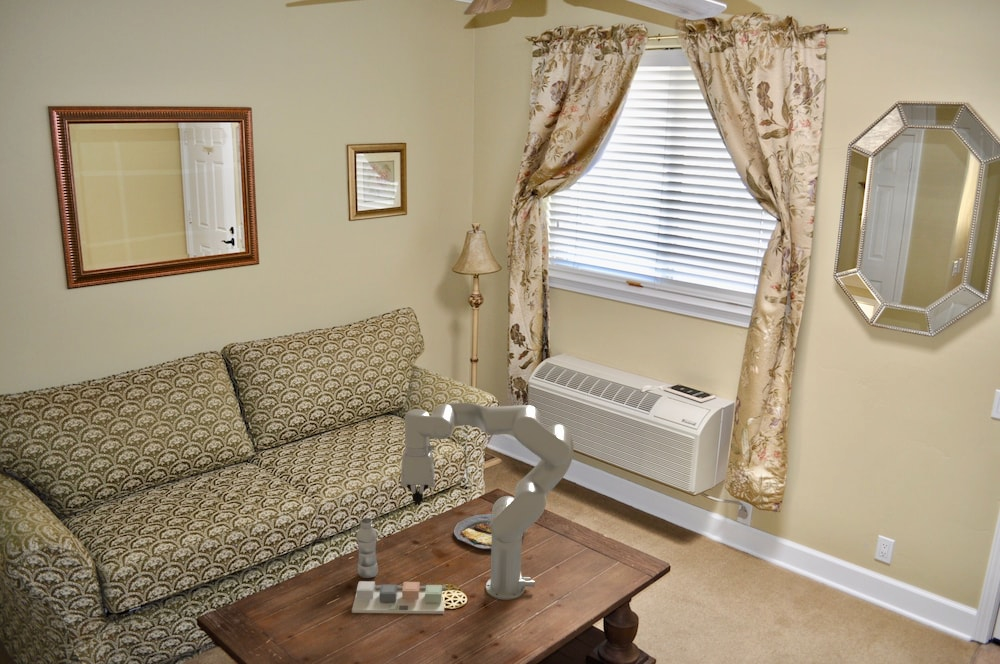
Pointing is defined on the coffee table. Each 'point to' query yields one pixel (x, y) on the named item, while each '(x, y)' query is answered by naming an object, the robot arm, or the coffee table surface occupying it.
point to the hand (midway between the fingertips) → (417, 503)
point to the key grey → (365, 589)
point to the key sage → (433, 594)
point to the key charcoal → (388, 593)
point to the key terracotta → (411, 590)
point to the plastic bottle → (367, 549)
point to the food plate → (472, 536)
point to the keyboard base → (397, 604)
